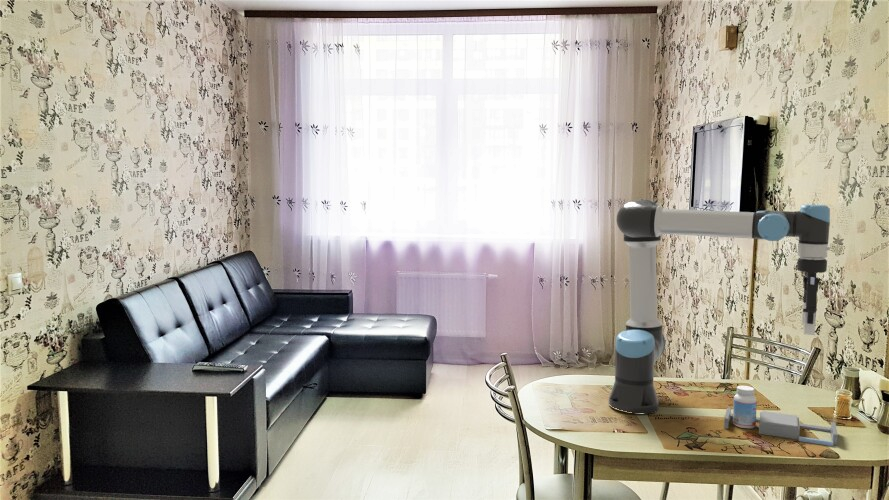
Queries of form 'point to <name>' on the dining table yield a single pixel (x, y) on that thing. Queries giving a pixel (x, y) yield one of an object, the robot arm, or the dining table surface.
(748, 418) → the pill bottle
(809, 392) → the dining table surface
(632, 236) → the robot arm
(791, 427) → the grey block with rods
